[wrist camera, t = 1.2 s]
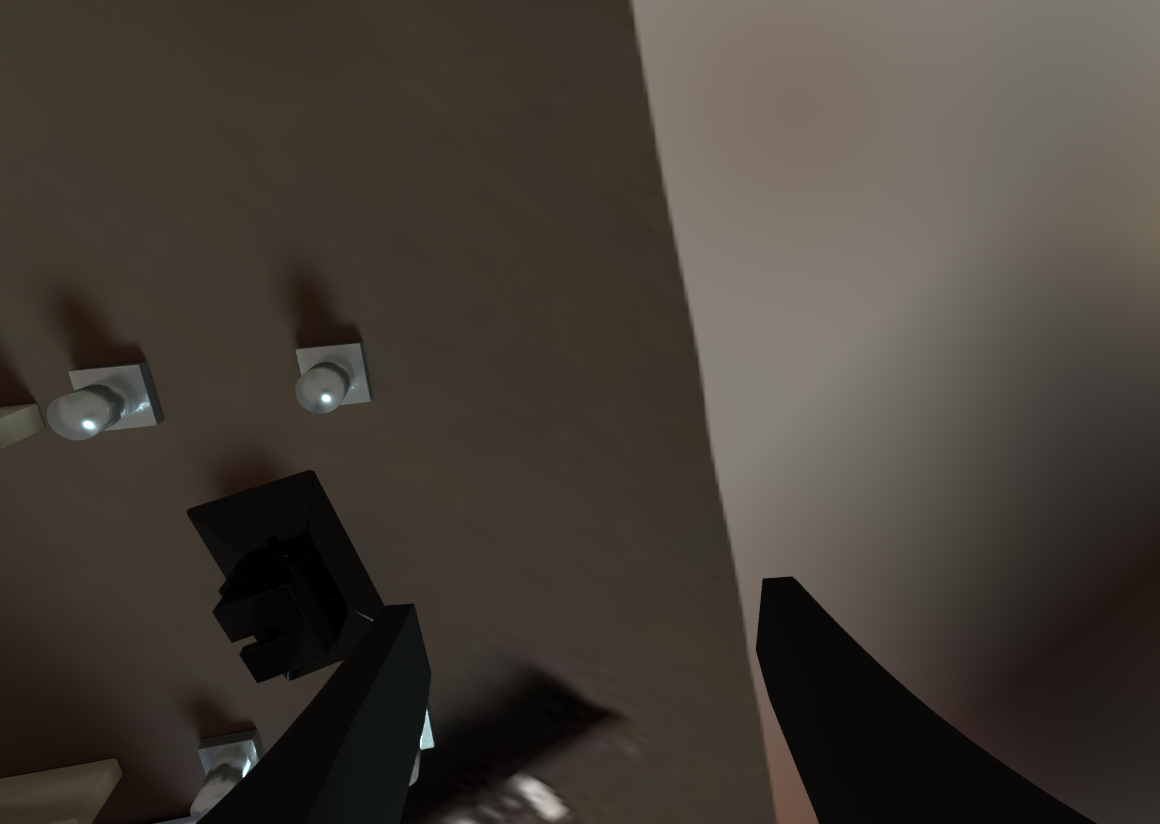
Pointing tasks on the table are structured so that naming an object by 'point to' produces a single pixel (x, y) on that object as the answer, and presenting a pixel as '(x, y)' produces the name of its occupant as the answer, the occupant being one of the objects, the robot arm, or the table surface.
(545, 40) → the table surface
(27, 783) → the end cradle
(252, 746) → the guide pins
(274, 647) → the black boxy piece
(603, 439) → the table surface
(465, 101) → the table surface
